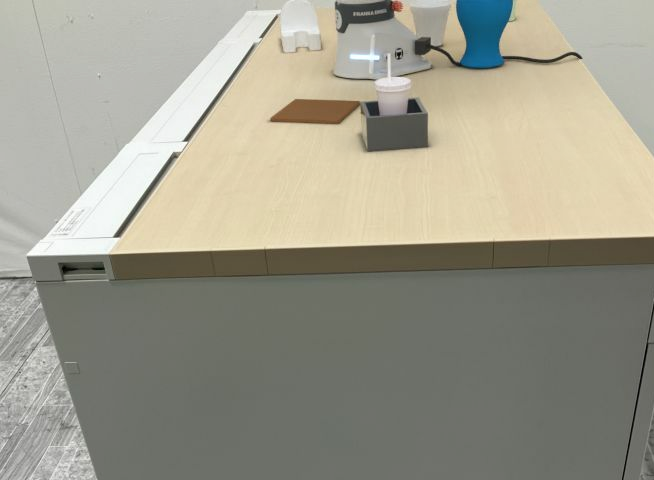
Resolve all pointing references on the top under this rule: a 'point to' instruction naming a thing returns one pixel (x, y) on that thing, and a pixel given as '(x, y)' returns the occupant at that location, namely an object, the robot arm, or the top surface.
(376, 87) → the smoothie
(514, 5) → the candle
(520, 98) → the top surface
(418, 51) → the robot arm
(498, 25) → the vase
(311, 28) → the white u-slot block
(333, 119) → the coaster
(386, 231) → the top surface
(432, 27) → the cup
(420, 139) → the holder
